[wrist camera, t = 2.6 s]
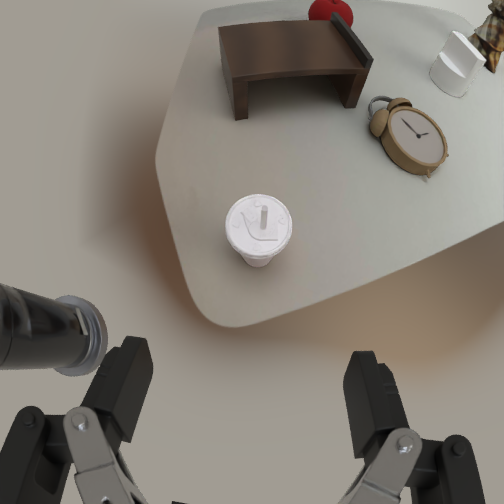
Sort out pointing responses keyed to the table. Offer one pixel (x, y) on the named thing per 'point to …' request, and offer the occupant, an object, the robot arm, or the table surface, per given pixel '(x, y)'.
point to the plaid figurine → (491, 35)
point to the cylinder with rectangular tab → (456, 65)
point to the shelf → (293, 56)
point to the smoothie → (258, 228)
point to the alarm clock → (408, 136)
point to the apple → (330, 10)
